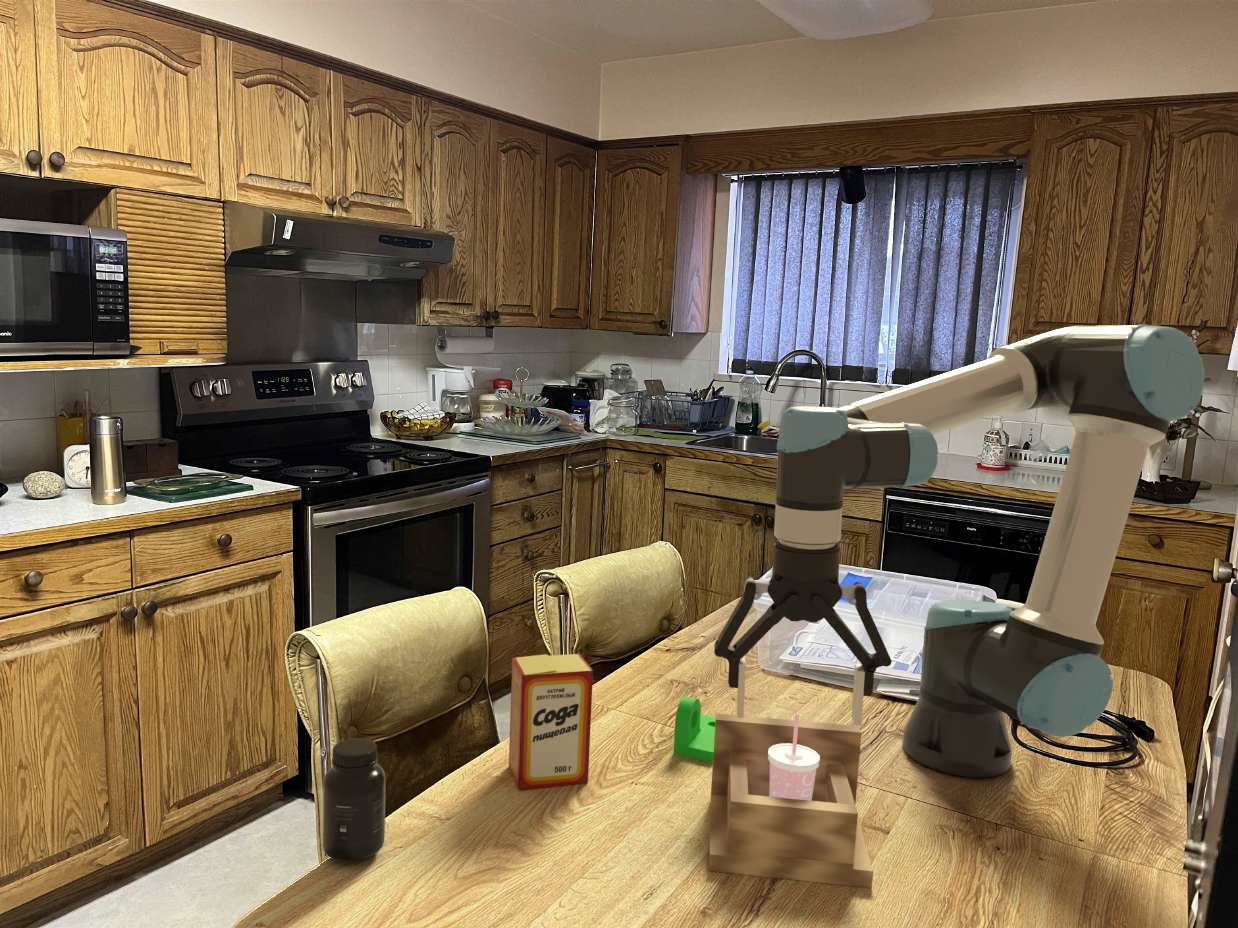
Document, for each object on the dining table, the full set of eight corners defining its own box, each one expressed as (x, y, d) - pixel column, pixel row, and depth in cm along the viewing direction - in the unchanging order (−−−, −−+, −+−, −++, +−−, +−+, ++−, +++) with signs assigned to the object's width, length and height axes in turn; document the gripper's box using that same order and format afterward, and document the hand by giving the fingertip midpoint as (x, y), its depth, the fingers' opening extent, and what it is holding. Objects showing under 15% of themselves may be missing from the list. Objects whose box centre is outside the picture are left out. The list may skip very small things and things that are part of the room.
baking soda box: (575, 760, 129) (580, 651, 127) (588, 782, 123) (593, 667, 121) (508, 767, 126) (512, 655, 124) (518, 789, 120) (522, 672, 118)
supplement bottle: (309, 855, 103) (310, 754, 101) (344, 825, 109) (345, 730, 108) (363, 868, 101) (364, 764, 99) (395, 837, 107) (397, 739, 106)
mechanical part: (713, 765, 130) (716, 711, 129) (673, 756, 132) (676, 703, 131) (736, 734, 141) (740, 684, 140) (699, 726, 143) (702, 677, 142)
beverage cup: (779, 841, 106) (789, 726, 105) (752, 816, 112) (761, 706, 110) (824, 834, 109) (834, 720, 107) (795, 809, 114) (804, 701, 113)
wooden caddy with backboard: (851, 815, 118) (859, 725, 116) (871, 887, 102) (880, 785, 100) (710, 801, 119) (716, 713, 118) (708, 870, 104) (715, 769, 102)
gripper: (911, 539, 108) (900, 710, 111) (699, 529, 111) (693, 697, 114) (925, 554, 101) (912, 737, 104) (697, 543, 103) (691, 722, 106)
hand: (797, 717), depth 109 cm, fingers open, 13 cm apart
